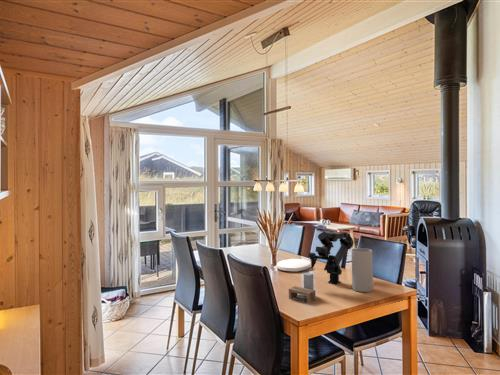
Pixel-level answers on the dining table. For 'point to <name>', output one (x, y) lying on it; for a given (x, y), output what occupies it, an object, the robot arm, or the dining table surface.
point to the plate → (293, 265)
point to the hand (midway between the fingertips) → (318, 269)
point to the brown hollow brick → (304, 291)
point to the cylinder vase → (362, 270)
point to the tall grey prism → (307, 284)
